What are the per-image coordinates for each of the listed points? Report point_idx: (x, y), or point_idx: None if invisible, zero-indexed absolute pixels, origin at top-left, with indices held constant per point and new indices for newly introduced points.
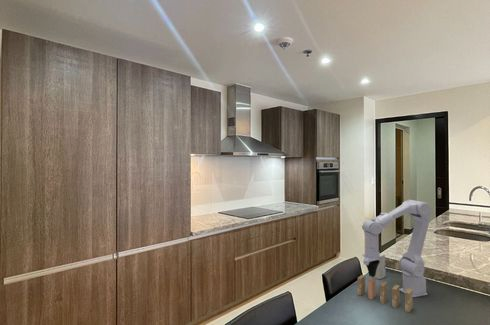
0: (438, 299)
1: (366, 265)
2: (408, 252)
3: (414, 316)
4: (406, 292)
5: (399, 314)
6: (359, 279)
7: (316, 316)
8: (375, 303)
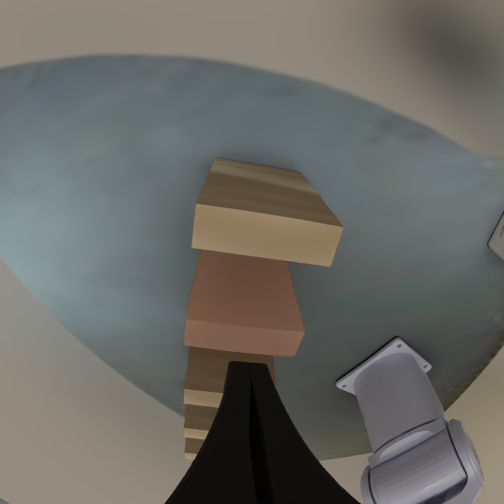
0: (354, 419)
1: (181, 480)
2: None
3: (176, 396)
4: (187, 454)
5: (148, 365)
6: (196, 224)
7: None
8: (168, 280)
